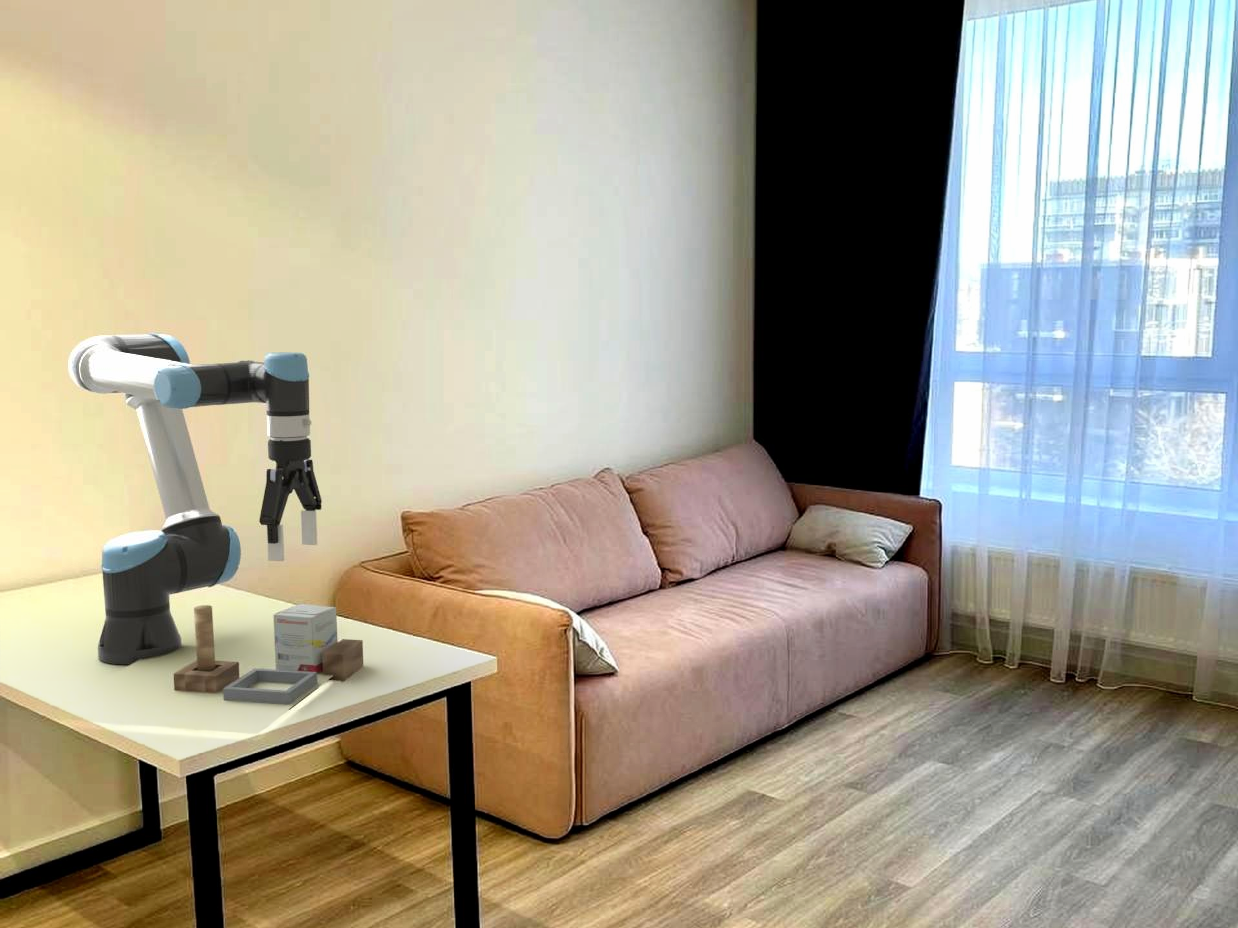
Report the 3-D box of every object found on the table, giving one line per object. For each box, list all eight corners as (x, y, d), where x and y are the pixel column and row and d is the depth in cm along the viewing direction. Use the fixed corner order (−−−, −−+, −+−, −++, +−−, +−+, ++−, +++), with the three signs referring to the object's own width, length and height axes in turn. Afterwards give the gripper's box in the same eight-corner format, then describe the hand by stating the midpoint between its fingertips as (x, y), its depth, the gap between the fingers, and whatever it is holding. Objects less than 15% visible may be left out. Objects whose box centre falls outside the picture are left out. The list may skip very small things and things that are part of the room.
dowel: (195, 686, 204) (190, 609, 202) (204, 680, 207) (199, 604, 204) (210, 687, 203) (206, 610, 201) (219, 681, 206) (215, 605, 204)
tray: (223, 705, 197) (223, 688, 196) (255, 684, 208) (254, 668, 207) (289, 709, 195) (288, 692, 194) (317, 688, 205) (317, 672, 205)
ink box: (340, 666, 218) (338, 605, 216) (314, 680, 210) (311, 617, 208) (301, 661, 221) (299, 601, 219) (274, 675, 213) (271, 613, 211)
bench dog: (323, 679, 210) (322, 653, 209) (343, 664, 219) (342, 639, 218) (343, 681, 209) (342, 654, 209) (363, 665, 218) (362, 640, 217)
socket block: (174, 695, 202) (173, 673, 201) (199, 680, 210) (197, 659, 209) (216, 698, 200) (215, 676, 200) (239, 683, 208) (238, 661, 208)
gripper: (276, 447, 197) (281, 568, 200) (337, 430, 221) (340, 539, 224) (235, 446, 198) (241, 566, 201) (300, 429, 222) (304, 537, 225)
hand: (293, 552), depth 212 cm, fingers open, 13 cm apart
